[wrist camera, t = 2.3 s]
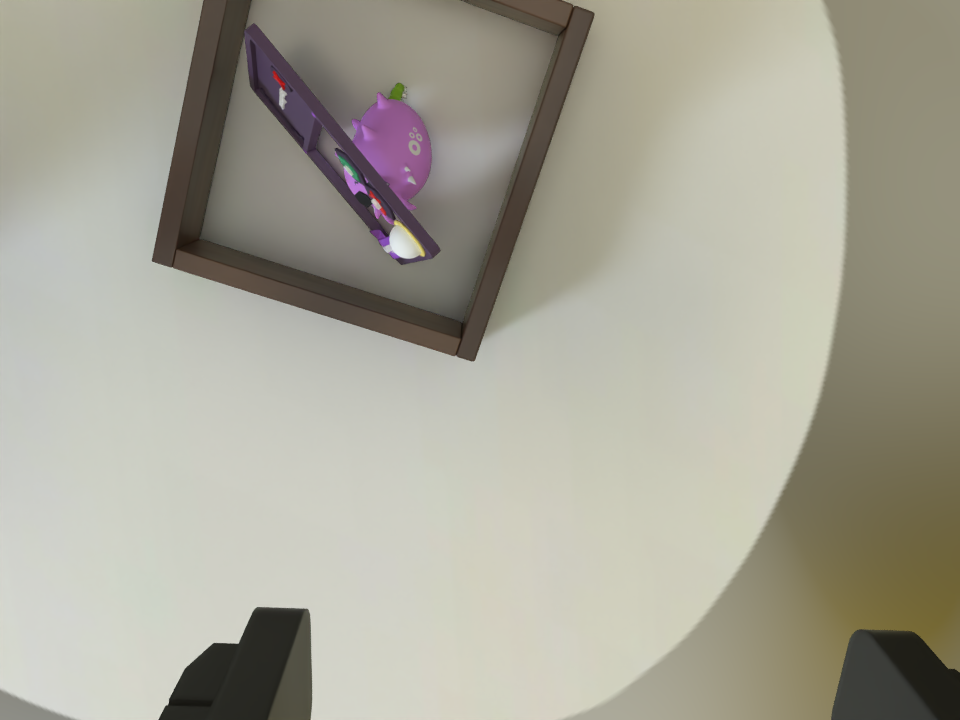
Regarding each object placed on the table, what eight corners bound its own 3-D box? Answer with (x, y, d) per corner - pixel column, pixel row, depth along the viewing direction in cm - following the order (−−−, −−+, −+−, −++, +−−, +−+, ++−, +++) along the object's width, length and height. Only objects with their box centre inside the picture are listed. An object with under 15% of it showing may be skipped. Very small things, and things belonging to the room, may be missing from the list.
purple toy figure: (224, 42, 22) (417, 272, 24) (354, -58, 23) (530, 173, 25) (235, 98, 29) (387, 276, 31) (337, 18, 29) (478, 197, 32)
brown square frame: (177, 250, 31) (150, 261, 28) (250, -102, 27) (227, -125, 25) (474, 344, 32) (474, 362, 30) (585, 21, 28) (595, 12, 26)
